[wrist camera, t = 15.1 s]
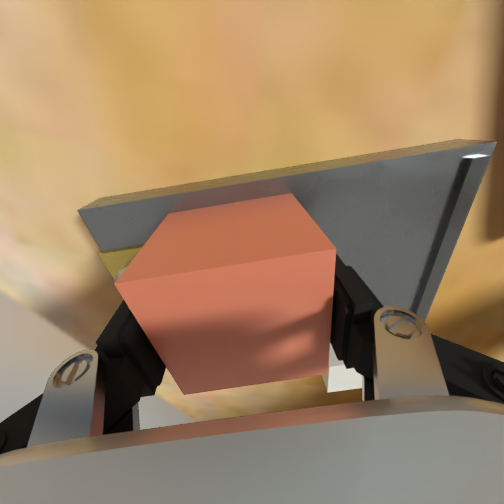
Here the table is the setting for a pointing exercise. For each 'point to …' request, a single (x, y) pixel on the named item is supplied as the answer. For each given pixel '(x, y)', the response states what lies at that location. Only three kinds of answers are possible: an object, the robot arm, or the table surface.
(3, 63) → the table surface
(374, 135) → the table surface
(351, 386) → the toggle
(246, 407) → the table surface
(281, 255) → the cap
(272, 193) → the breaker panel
